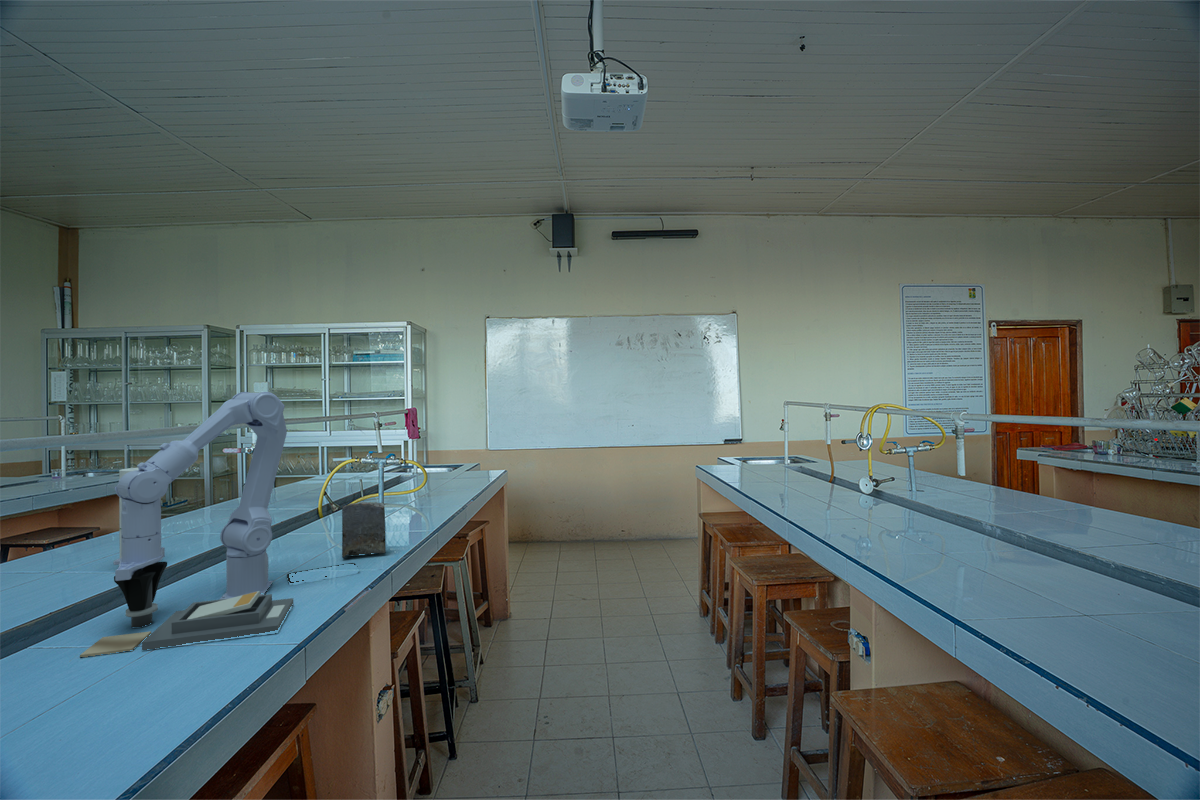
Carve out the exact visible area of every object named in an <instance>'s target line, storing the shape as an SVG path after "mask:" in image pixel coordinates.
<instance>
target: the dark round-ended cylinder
mask: <svg viewBox="0 0 1200 800" xmlns="http://www.w3.org/2000/svg"><path fill="white" fill-rule="evenodd" d="M158 607H159V605H158V603H156V602H152V580H151V583H150V586H149V590H148V597H147V603H146V607H145V609H144V610H139V611H130V610H129V608H127V609H126V610H125V616H126V618H127V617H128V618H131V628H132V627H141V628H143V627H142V626H145V625H148V626H150V625H151V624H150V623H152V624H153V613H155V612H157V611H158V610H159V609H158ZM149 624H150V625H149ZM145 627H146V626H145Z"/></svg>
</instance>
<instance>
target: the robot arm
mask: <svg viewBox="0 0 1200 800" xmlns="http://www.w3.org/2000/svg"><path fill="white" fill-rule="evenodd" d="M284 410H285V404H284V403H283V402H282V400H281V399H280V398H279V397H278V396H277V395H276V394H274V393H273V392H270V391H260V392H248V391H242V392H241V391H240V392H238V393H236V394H234V395H233V396H232V398H231V399H228V400H226V401H224V402H223V404H222V405H221V406H220V407H219V408H218V409H216V411H215V412H214V413H212V414H211V415H210V416H209V417H208V418H207V419H205V421H203V422H202V423H201V424H200V425H199V426H198V427H197V428H195V429H194V430H193V431H192V432H191V433H190V434H189V435H188V436H186V437H185V438H184V439H182V440H179V439H178V440H176V439H175V440H171V441H170V442H163V443H162V444H161V445H159V447H158V448H159V449H160V450H158V452H156V453H155V454H153V455H152V456H151V457H150V458H148V459H147V460H146V461H145V462H142V461H141V462H140V463H138V464H137V465H136V468H138V470H135V471H131V472H128V473H126V474H125V475H123V476H122V477H121V478H120V480H119V479H118V483H117V485H116V486H114V492H115V494H116V495H117V496H118V497H120V498H121V499H122V512H121V558H120V557H119V558H116V559H115V560H113V566H118V568H117V569H115V571H114V572H115V574H114V577H113V581H114V583H115V584H116V585H117V587H118V588H119V589H120V590H121V593H122V594H123V596H124V598H125V602H126V605H127V607H128V608H129V610H130V611H139V610H144V609H145V607H146V603H147V597H148V590H149V586H150V583H151V580H152V603H154V601H155V599H156V594H157V592H158V591H157V590H158V587H159V584H160V580H161V578H162V576H163V573H164V572H165V569H166V568H167V566H168V561H162V560H163V558H165V554H166V553H165V549H166V548H165V547H164V546H163V547H162V505H161V504H162V503H161V502H162V501H161V499H162V498H163V497H164V496H165V495H166V493H167V491H168V488H169V484H171V483H172V482H174V481H175V480H176V479H177V478H178V477H179V476H181V475H182V474H183V473H184V472H185V471H186V470H188V469H189V468H190V467H192V466H193V464H195V463H196V462H197V461H198V459H199V452H200V450H201V449H203V448H205V447H206V446H207V445H208V444H210V443H211V442H212V441H213V440H215V439H216V438H218V436H220V435H221V434H223V433H224V432H226V431H227V430H228V429H230V427H232V426H235V425H240V424H242V425H243V424H245V425H247V426H248V427H249V428H250V429H251V431H252V432H253V433H254V434H255V435H256V440H255V444H254V448H253V453H252V457H251V460H250V463H249V467H248V472H247V475H246V477H245V482H244V487H243V490H242V494H241V497H240V500H239V501H240V502H239V504H238V507H237V508H236V509H234V510H233V511H232V513H230V516H229V518H228V519H229V520H228V521H227V523H226V524H225V525H224V526H223V528H222V529H221V532H220V534H219V535H220V536H219V537H220V542H221V544H222V545H223V546H224V547H226V555H225V556H226V592H225V593H223V595H222V596H220V598H219V600H221V599H229V598H233V597H237V596H241V595H245V594H249V593H253V592H257V591H260V595H263V594H264V593H265V592H266V590H267V589H268V588H269V586H270V585H271V584H272V582H273V583H274V580H269V555H268V553H267V549H268V547H269V546H270V545H271V543H272V541H273V531H272V523H273V519H272V516H271V514H270V512H269V510H268V508H269V503H270V500H271V496H272V492H273V489H274V485H275V481H276V476H277V473H278V469H279V464H280V460H281V457H282V453H283V449H284V445H285V443H286V438H287V434H288V433H287V432H288V429H287V425H286V424H287V423H286V421H285V416H284ZM272 585H273V584H272ZM272 585H271V586H272ZM271 586H270V587H271ZM269 589H270V588H269ZM269 589H268V590H269ZM268 590H267V591H268ZM261 593H263V594H261ZM266 593H267V592H266ZM266 593H265V594H266ZM265 594H264V595H265ZM128 608H127V609H128Z"/></svg>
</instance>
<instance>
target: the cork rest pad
mask: <svg viewBox="0 0 1200 800" xmlns="http://www.w3.org/2000/svg"><path fill="white" fill-rule="evenodd" d="M150 634H152V630H151V631H150V630H149V631H144V632H135V633H125V634H119V635H116V634H115V635H110V636H109V635H108V636H103V637H101V638H100V639H98V640H97V641H96V642H94V644H92V645H91V646H89V647H88V648H86V649H85V651H83V652H81V654H79V658H80V657H85V658H89V657H88V656H93V657H96V656H95V655H100V656H102V655H101V654H108V655H111V654H110V653H116V652H123V651H130V650H133V649H134V648H135V647H137V646H138V645H139V644H140V643H141V642H142V641H143V640H144V639H145V638H146V637H148V636H149V635H150ZM141 644H142V643H141ZM141 644H140V645H141ZM140 645H139V646H140ZM139 646H138V647H139ZM138 647H137V648H138ZM134 650H135V649H134ZM134 650H133V651H134ZM116 654H117V653H116Z"/></svg>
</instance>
